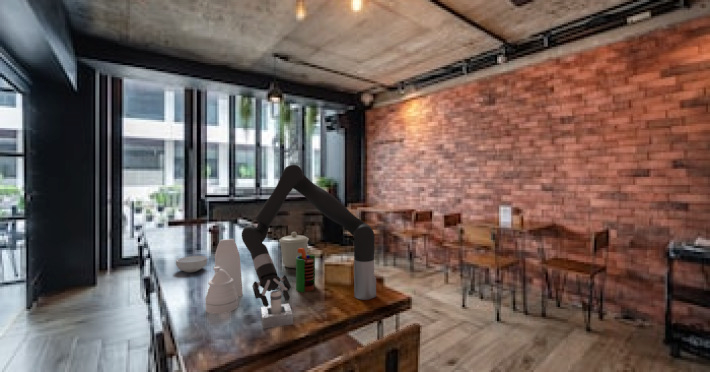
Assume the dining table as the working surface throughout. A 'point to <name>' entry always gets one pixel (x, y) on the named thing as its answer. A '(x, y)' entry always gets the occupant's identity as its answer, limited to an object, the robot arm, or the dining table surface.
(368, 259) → the robot arm
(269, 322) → the box
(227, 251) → the tall white vase
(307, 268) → the motor
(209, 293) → the honey pot
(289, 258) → the canister
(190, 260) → the cereal bowl
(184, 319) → the dining table surface
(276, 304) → the plug
